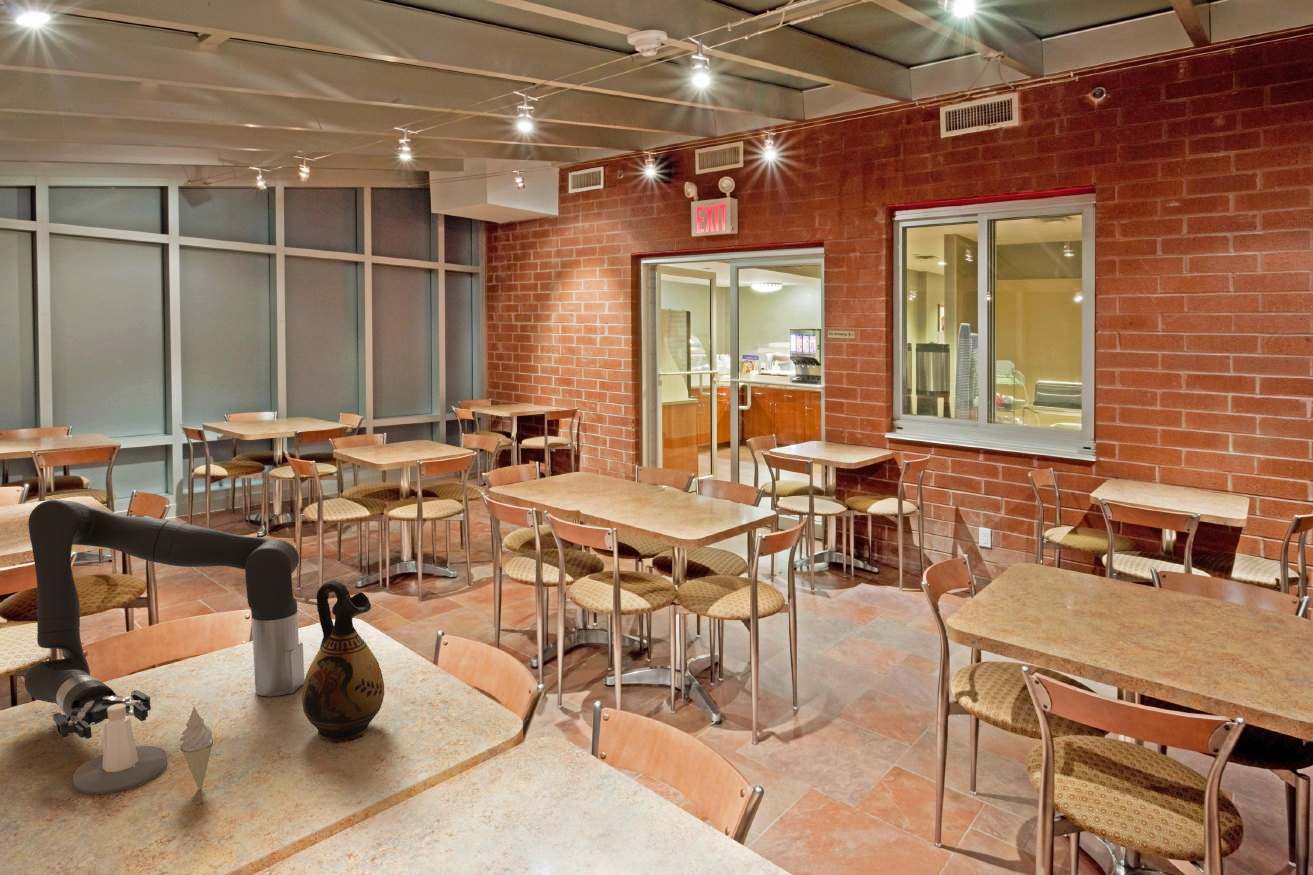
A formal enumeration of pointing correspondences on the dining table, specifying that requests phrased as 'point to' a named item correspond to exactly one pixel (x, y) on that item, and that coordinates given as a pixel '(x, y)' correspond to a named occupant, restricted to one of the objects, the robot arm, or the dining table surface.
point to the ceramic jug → (342, 671)
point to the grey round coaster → (120, 772)
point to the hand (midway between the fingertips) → (117, 724)
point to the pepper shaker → (118, 741)
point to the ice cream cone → (197, 747)
